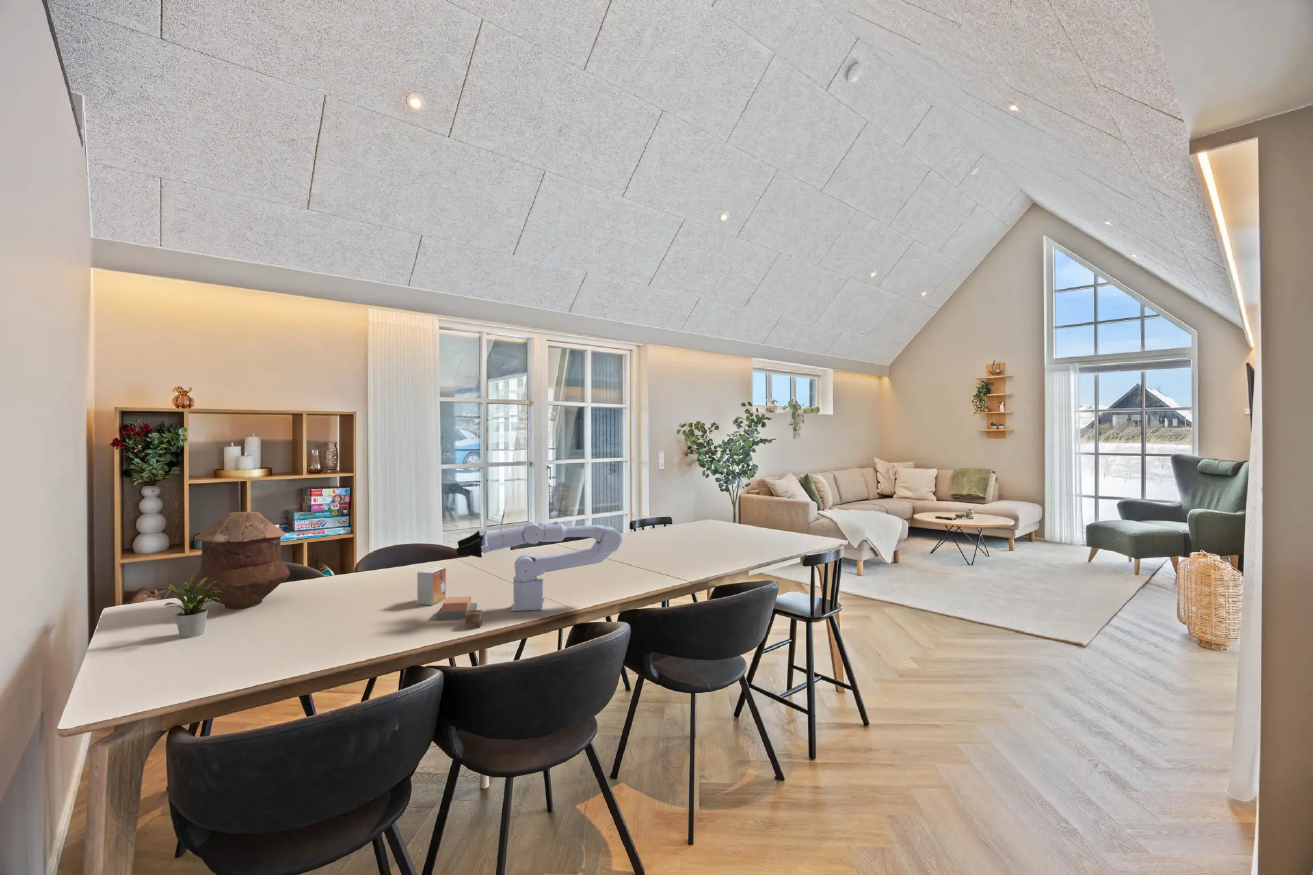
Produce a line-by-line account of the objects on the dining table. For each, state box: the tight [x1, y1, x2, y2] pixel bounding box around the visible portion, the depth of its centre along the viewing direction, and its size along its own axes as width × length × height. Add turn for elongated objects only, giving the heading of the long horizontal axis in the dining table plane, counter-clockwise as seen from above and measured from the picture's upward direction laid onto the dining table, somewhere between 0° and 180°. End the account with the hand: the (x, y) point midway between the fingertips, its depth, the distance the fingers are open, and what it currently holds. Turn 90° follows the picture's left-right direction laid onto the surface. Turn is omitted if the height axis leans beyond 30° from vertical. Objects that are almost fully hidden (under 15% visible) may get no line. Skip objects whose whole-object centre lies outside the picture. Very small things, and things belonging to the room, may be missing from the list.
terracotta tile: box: [442, 595, 472, 612], centre depth 178 cm, size 7×7×2 cm
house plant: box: [155, 574, 221, 639], centre depth 159 cm, size 14×14×16 cm
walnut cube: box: [464, 609, 483, 629], centre depth 167 cm, size 4×4×4 cm
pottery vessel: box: [192, 511, 291, 610], centre depth 188 cm, size 26×26×30 cm
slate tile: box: [435, 602, 478, 621], centre depth 178 cm, size 10×10×2 cm
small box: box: [416, 566, 447, 606], centre depth 191 cm, size 8×6×10 cm
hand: (457, 548), depth 179 cm, fingers open, 7 cm apart
